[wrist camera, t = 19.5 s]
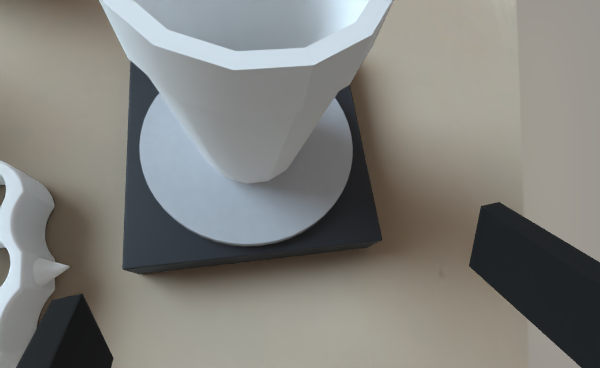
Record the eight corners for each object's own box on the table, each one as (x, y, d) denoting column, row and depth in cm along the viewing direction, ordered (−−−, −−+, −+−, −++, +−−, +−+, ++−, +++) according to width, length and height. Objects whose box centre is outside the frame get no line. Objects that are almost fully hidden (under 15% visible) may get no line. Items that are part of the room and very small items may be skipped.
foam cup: (270, 60, 25) (288, -175, 13) (347, 157, 23) (456, -10, 11) (149, 120, 22) (22, -112, 10) (226, 236, 20) (189, 130, 8)
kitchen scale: (329, 50, 31) (339, 17, 27) (368, 247, 25) (387, 237, 21) (143, 52, 28) (127, 15, 24) (138, 274, 22) (116, 268, 19)
